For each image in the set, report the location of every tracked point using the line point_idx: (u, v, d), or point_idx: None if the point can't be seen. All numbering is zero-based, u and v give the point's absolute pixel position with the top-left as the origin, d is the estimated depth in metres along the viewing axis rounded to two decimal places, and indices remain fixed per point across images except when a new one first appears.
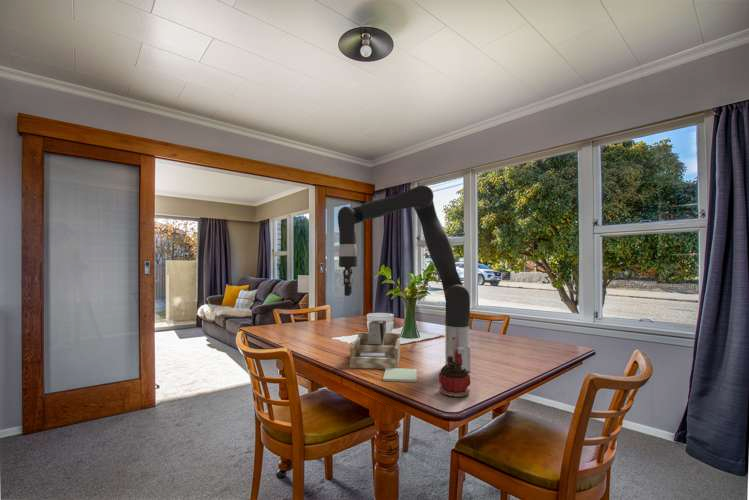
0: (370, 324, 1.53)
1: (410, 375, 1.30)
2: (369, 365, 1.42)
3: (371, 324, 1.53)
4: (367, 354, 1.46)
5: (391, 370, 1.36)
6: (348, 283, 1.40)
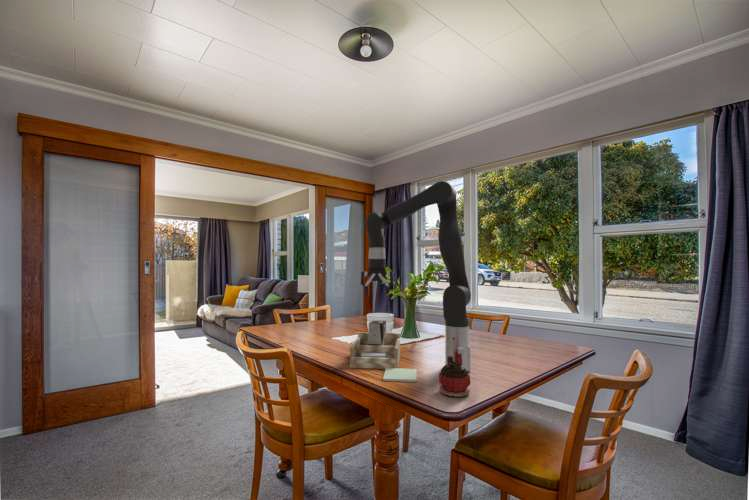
0: (370, 324, 1.53)
1: (410, 375, 1.30)
2: (369, 365, 1.42)
3: (371, 324, 1.53)
4: (368, 354, 1.46)
5: (391, 370, 1.36)
6: None
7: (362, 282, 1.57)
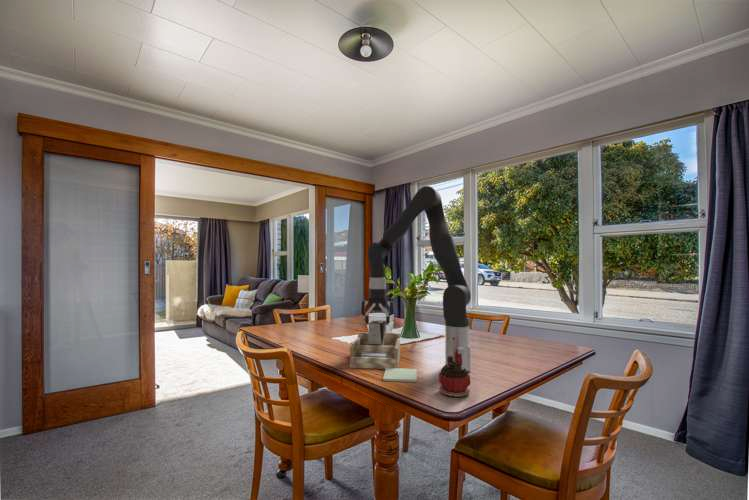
0: (370, 324, 1.53)
1: (410, 375, 1.30)
2: (369, 365, 1.42)
3: (371, 324, 1.53)
4: (368, 354, 1.46)
5: (391, 370, 1.36)
6: None
7: (362, 312, 1.57)
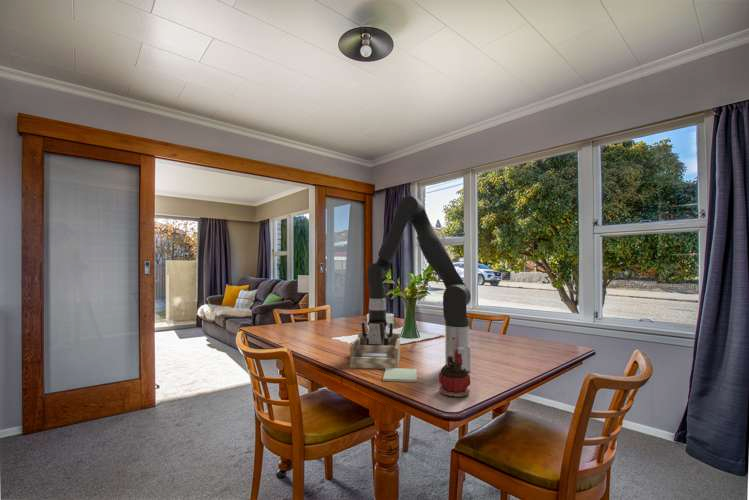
0: (370, 324, 1.53)
1: (410, 375, 1.30)
2: (369, 365, 1.42)
3: (371, 324, 1.53)
4: (369, 354, 1.46)
5: (391, 370, 1.36)
6: None
7: (364, 334, 1.56)
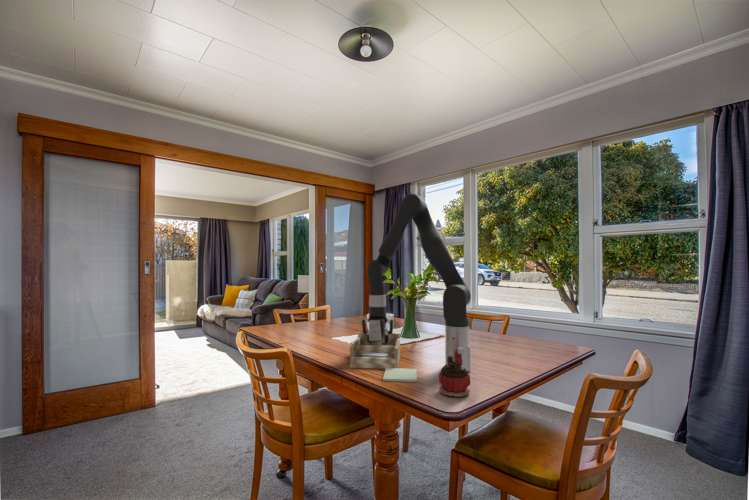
0: (370, 321, 1.53)
1: (410, 375, 1.30)
2: (369, 365, 1.42)
3: (371, 321, 1.53)
4: (369, 354, 1.46)
5: (391, 370, 1.36)
6: (392, 331, 1.57)
7: (364, 330, 1.56)
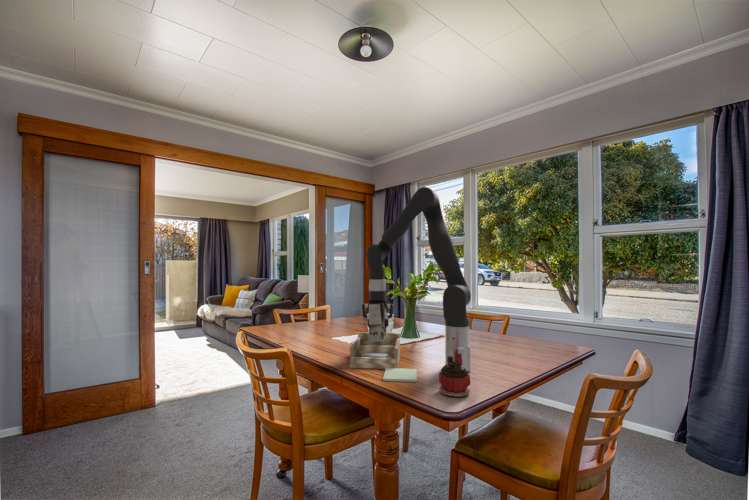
0: (370, 305, 1.53)
1: (410, 375, 1.30)
2: (369, 365, 1.42)
3: (371, 305, 1.53)
4: (369, 354, 1.46)
5: (391, 370, 1.36)
6: (392, 315, 1.57)
7: (364, 315, 1.56)
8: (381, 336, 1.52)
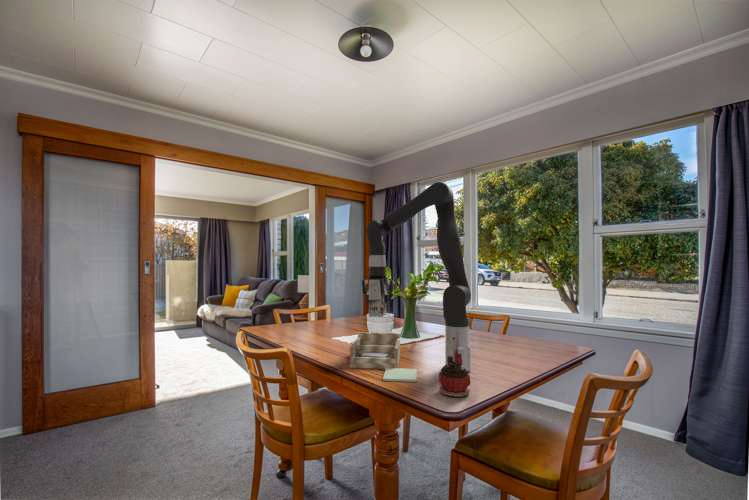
0: (370, 280, 1.54)
1: (410, 375, 1.30)
2: (369, 365, 1.42)
3: (371, 280, 1.54)
4: (369, 354, 1.46)
5: (391, 370, 1.36)
6: None
7: (364, 291, 1.57)
8: (381, 311, 1.52)
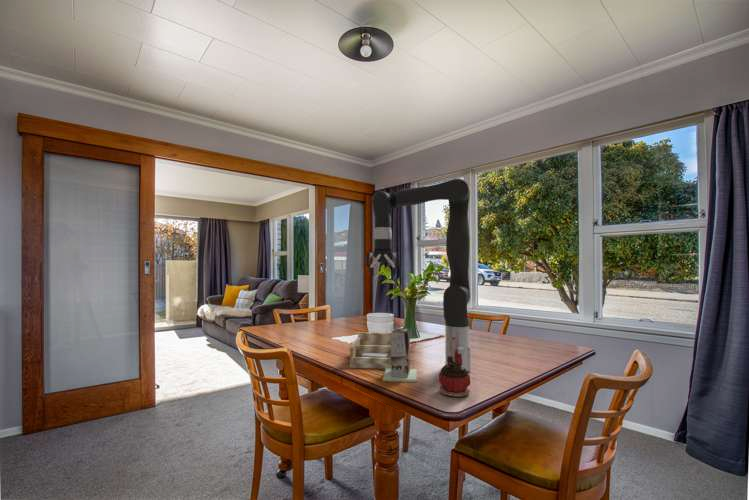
0: (393, 333, 1.29)
1: (410, 375, 1.30)
2: (369, 365, 1.42)
3: (394, 333, 1.29)
4: (369, 354, 1.46)
5: None
6: (399, 264, 1.51)
7: (367, 263, 1.51)
8: (406, 371, 1.28)
